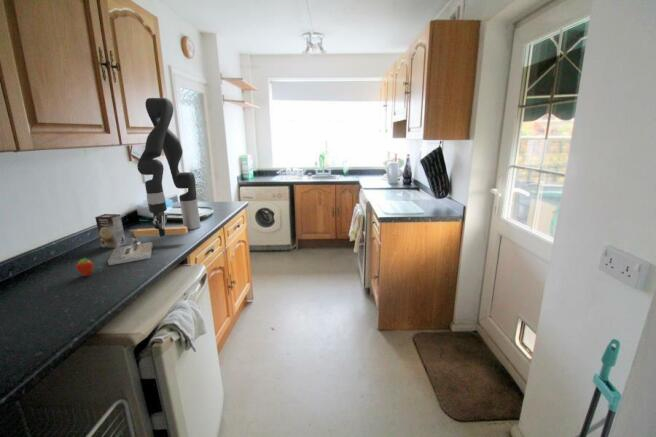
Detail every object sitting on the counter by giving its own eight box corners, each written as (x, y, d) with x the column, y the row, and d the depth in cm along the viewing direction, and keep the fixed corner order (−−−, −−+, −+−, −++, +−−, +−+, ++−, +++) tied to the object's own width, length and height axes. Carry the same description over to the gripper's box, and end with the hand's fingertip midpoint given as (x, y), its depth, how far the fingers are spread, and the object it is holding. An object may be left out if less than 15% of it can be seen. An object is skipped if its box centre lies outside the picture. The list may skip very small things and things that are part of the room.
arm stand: (130, 244, 160) (128, 236, 159) (141, 242, 162) (140, 234, 161) (129, 247, 155) (127, 239, 154) (140, 245, 158) (139, 237, 156)
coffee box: (101, 247, 156) (93, 217, 152) (110, 243, 162) (104, 213, 158) (117, 247, 155) (111, 217, 151) (127, 243, 161) (120, 213, 157)
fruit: (76, 279, 122) (71, 260, 120) (83, 273, 127) (79, 255, 125) (91, 277, 123) (87, 259, 121) (98, 272, 128) (93, 254, 126)
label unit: (115, 251, 150) (114, 247, 149) (152, 245, 157) (151, 241, 156) (108, 265, 135) (107, 260, 134) (150, 258, 141) (149, 253, 141)
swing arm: (128, 237, 155) (127, 231, 155) (131, 234, 159) (130, 229, 158) (185, 233, 158) (184, 228, 158) (188, 231, 162) (187, 226, 161)
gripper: (154, 199, 153) (160, 232, 158) (141, 205, 141) (148, 240, 145) (170, 198, 154) (175, 231, 159) (159, 204, 141) (165, 240, 146)
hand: (162, 235), depth 152 cm, fingers closed
